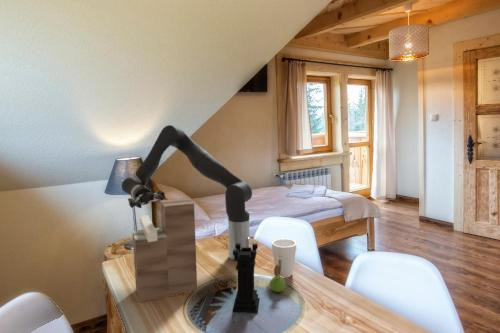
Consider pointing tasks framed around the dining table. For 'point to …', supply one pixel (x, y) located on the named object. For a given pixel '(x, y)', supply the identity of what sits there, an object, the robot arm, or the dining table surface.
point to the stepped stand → (167, 253)
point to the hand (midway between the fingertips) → (151, 202)
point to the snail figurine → (277, 278)
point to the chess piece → (245, 279)
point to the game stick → (148, 228)
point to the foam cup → (284, 255)
